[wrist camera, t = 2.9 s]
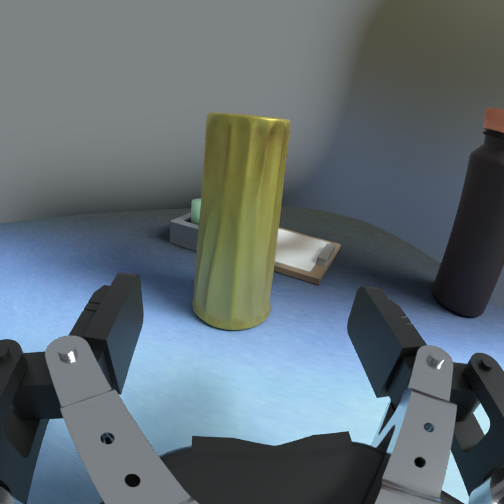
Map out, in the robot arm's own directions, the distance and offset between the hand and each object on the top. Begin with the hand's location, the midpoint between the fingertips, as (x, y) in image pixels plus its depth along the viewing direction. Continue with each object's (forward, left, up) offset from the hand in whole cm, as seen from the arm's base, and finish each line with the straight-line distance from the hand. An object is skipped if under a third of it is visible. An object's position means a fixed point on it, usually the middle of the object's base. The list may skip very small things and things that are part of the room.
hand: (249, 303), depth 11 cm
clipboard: (-6, +22, -8) cm, 24 cm away
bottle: (+14, +23, -8) cm, 28 cm away
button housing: (-15, +19, -8) cm, 25 cm away
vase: (-6, +10, -8) cm, 14 cm away
